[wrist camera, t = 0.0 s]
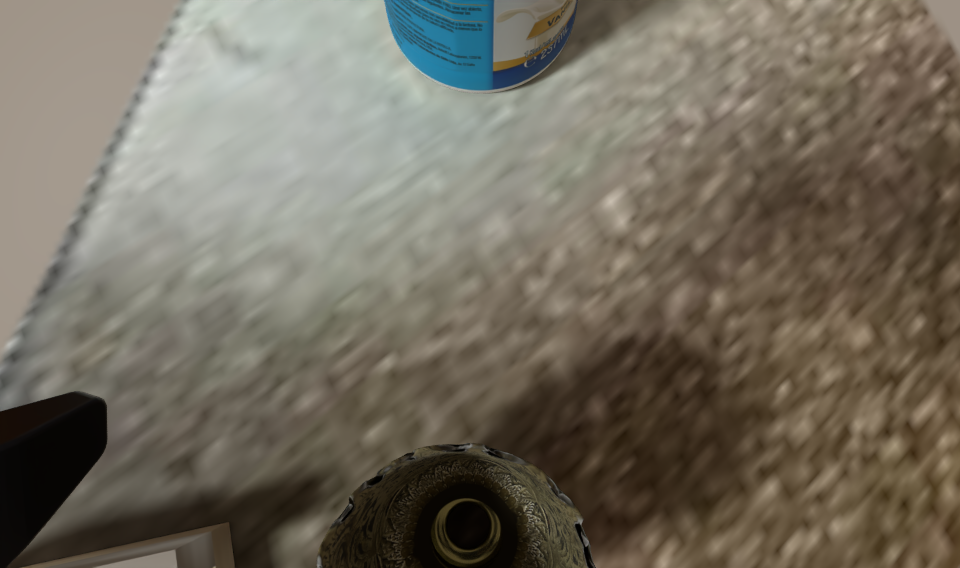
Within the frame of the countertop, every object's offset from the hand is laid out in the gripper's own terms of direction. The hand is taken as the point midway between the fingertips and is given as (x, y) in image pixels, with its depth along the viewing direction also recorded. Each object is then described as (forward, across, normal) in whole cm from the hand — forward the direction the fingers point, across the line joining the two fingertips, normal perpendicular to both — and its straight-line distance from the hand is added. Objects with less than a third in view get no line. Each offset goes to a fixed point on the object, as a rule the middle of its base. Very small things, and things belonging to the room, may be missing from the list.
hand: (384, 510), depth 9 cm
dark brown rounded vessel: (+11, -2, +11) cm, 16 cm away
